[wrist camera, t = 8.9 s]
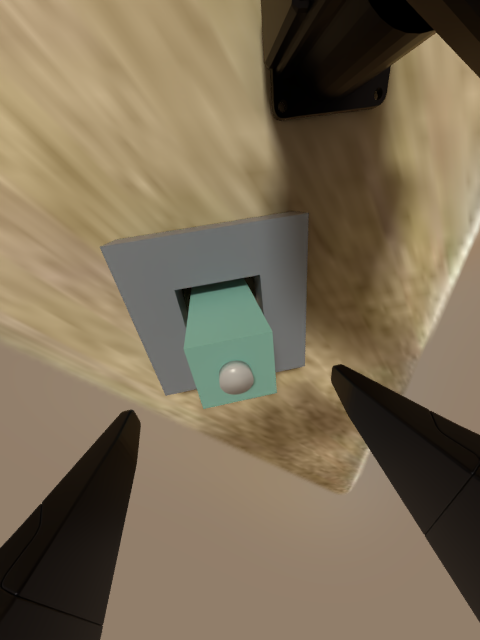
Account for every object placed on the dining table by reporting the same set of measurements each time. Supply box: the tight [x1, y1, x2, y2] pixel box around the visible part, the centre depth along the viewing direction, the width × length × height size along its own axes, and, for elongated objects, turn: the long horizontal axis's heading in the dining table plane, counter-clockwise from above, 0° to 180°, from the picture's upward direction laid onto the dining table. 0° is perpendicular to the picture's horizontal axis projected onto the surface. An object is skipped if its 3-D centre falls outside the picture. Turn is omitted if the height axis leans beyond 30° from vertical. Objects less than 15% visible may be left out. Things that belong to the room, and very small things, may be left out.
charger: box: [184, 278, 277, 409], centre depth 14 cm, size 4×4×9 cm
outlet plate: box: [100, 211, 309, 395], centre depth 16 cm, size 12×12×2 cm
